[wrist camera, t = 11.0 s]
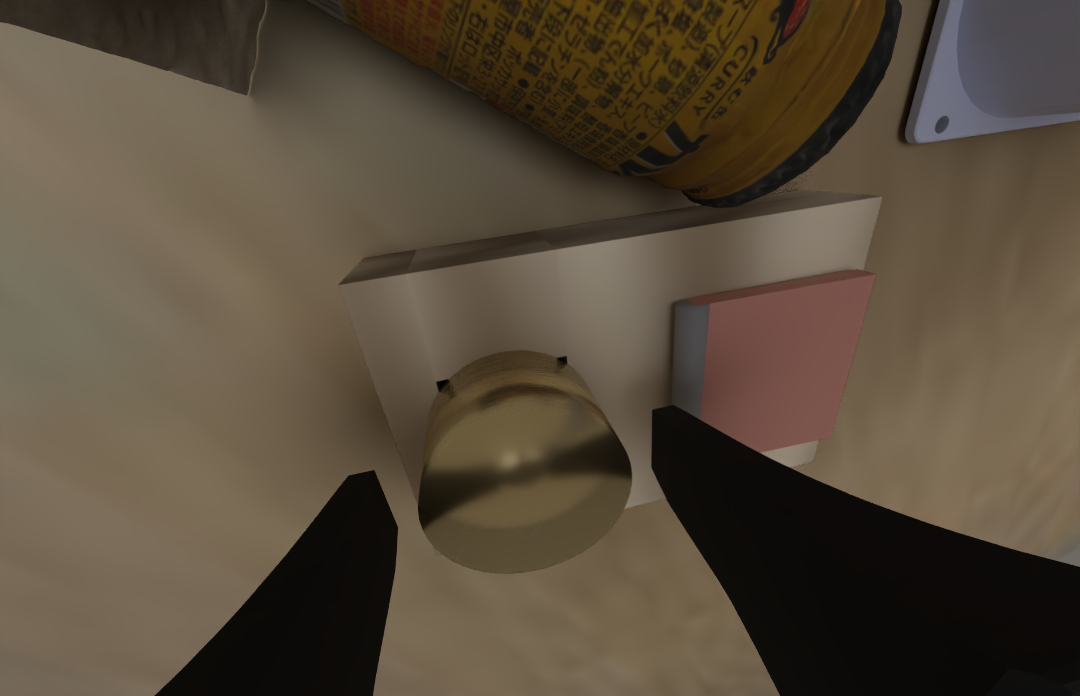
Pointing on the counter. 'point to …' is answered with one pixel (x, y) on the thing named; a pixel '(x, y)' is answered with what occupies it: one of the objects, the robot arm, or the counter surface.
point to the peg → (519, 465)
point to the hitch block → (588, 305)
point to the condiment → (573, 70)
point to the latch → (770, 357)
